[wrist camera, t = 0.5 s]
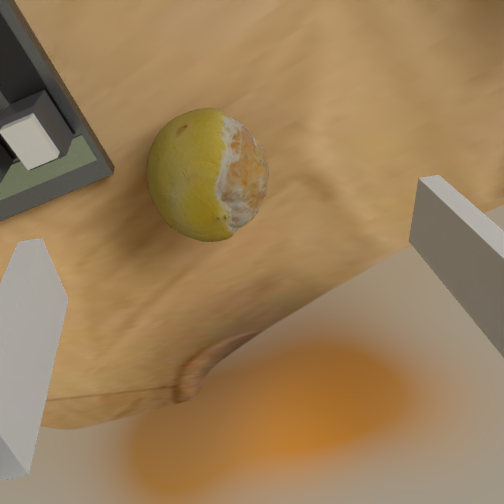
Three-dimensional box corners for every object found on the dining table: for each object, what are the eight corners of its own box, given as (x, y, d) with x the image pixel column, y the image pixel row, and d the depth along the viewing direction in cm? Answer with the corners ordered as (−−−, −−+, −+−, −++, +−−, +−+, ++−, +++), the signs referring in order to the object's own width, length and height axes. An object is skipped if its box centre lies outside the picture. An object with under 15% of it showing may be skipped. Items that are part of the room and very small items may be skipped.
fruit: (186, 219, 46) (192, 281, 38) (122, 129, 40) (114, 181, 32) (275, 172, 45) (302, 226, 37) (225, 71, 38) (244, 110, 30)
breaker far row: (9, 104, 35) (-9, 127, 31) (44, 89, 35) (30, 110, 31) (40, 149, 37) (27, 176, 33) (73, 135, 37) (64, 160, 33)
